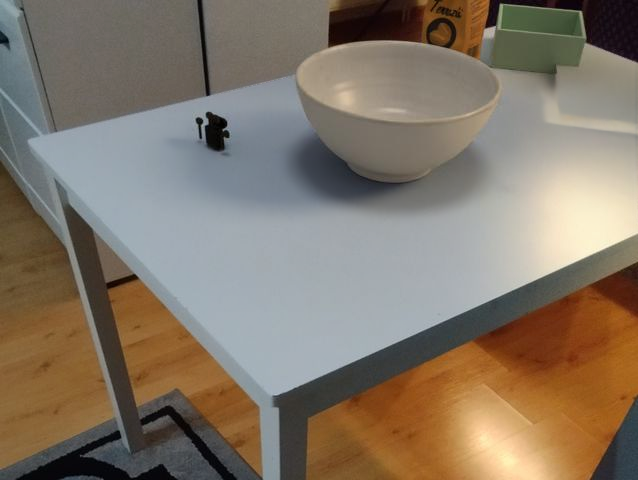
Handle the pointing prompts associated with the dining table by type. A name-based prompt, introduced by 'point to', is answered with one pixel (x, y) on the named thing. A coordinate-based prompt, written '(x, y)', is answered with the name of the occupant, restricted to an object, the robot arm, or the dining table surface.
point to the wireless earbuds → (214, 130)
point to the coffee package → (456, 25)
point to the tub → (537, 38)
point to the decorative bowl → (396, 105)
